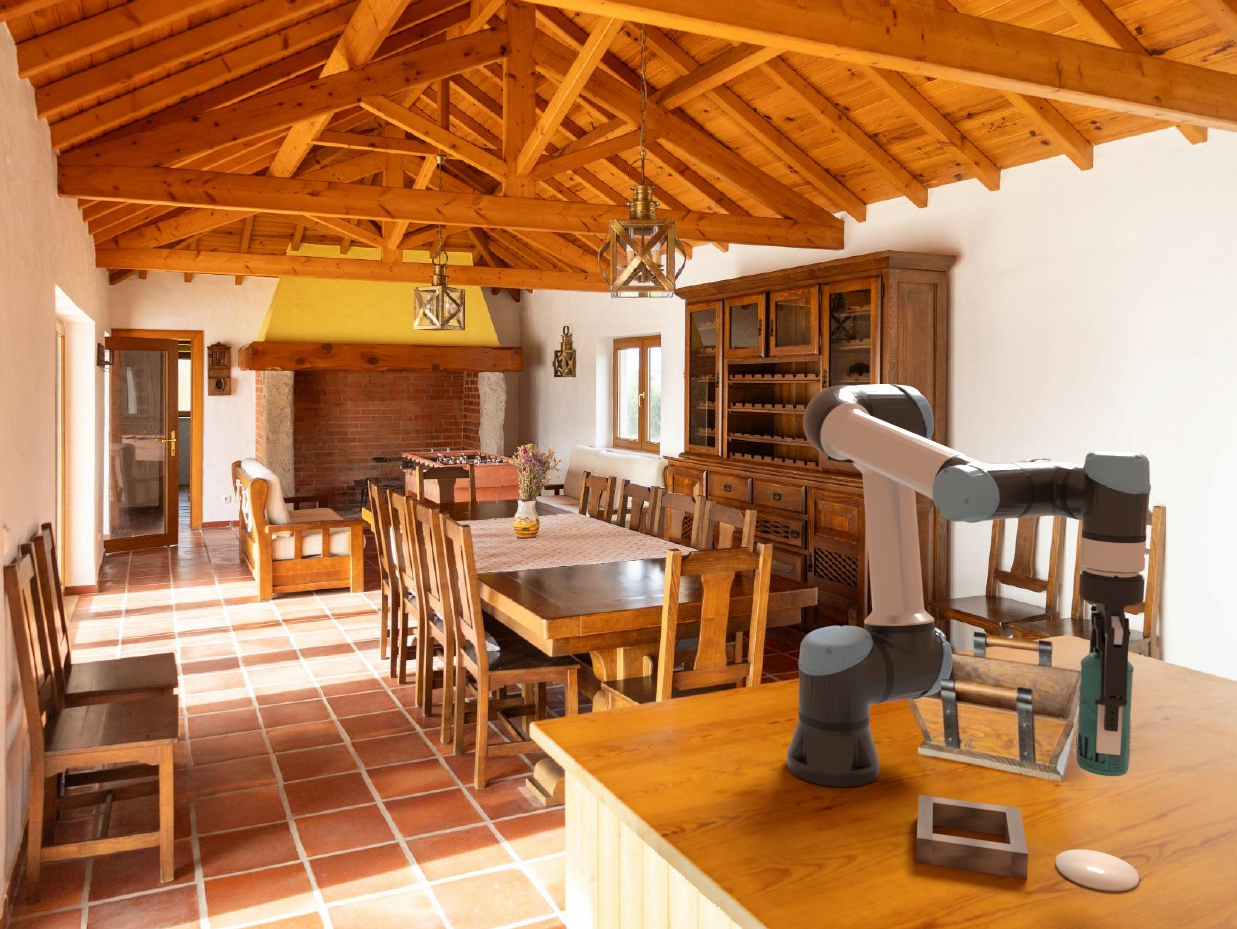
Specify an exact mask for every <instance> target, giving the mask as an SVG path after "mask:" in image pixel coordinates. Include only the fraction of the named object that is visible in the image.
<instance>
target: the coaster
mask: <svg viewBox="0 0 1237 929" xmlns="http://www.w3.org/2000/svg"><path fill="white" fill-rule="evenodd" d="M1055 868H1056V870H1057V871H1058V872H1059V873H1060V875H1062V876H1063V877H1065V878H1067V879H1068V880H1070V881H1071V882H1073V883H1075V884H1078V885H1080V886H1082V887H1086V888H1090V889H1093V890H1098V891H1103V892H1113V893H1114V892H1117V893H1118V892H1126V891H1130V890H1133V889H1135V888H1136V887H1137V886H1138V884H1139V880H1140V876H1139V873H1138V871H1137V869H1136V868H1135V867H1133V865H1131V864H1129V863H1128V862H1126V860H1123V859H1121V858H1119V857H1117V856H1115V855H1114V856H1113V855H1111V854H1108V853H1107V852H1106V853H1105V852H1100V851H1097V850H1092V849H1091V850H1090V849H1069V850H1065V851H1062V852H1060V853H1059V854H1058V855H1057V856H1056V857H1055Z"/></svg>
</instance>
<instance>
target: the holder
mask: <svg viewBox="0 0 1237 929" xmlns="http://www.w3.org/2000/svg"><path fill="white" fill-rule="evenodd" d="M917 801H918V804H917V806H918V808H917V824H916V825H917V826H916V854H915V862H916V863H918V864H924V865H925V864H926V865H931V866H937V867H945V868H952V869H959V870H965V871H970V872H971V871H972V872H979V873H985V874H989V875H990V874H991V875H998V876H1004V877H1011V878H1015V879H1016V878H1019V879H1022V880H1023V879H1024V880H1027V879H1028V865H1029V851H1028V850H1029V849H1028V846H1027V840H1026V834H1025V829H1024V824H1023V819H1022V814H1021V809H1020V807H1013V806H1005V805H998V804H990V803H982V802H978V801H977V802H975V801H969V800H968V801H967V800H961V799H954V798H953V799H952V798H944V797H938V796H931V795H930V796H929V795H922V794H918V800H917ZM933 826H935V827H936V826H937V827H942V828H949V829H957V830H963V831H971V832H979V833H984V834H992V835H1000V836H1004V838H1005V839H1004V840H1005V843H1003V842H998V841H991V840H990V841H989V840H982V839H976V838H969V837H962V836H954V835H946V834H939V833H933Z"/></svg>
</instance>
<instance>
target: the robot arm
mask: <svg viewBox="0 0 1237 929" xmlns="http://www.w3.org/2000/svg"><path fill="white" fill-rule="evenodd" d="M934 419H935V418H934V413H933V411H932V408H931V406H930V404H929V401H928V400H927V398H926V397H925V395H923V394H921V393H920V390H918V389H916V388H914V387H912V386H909V385H904V384H903V385H901V384H894V383H889V384H888V383H887V384H857V385H854V384H853V385H852V384H851V385H849V384H839V385H834V386H833V385H832V386H830V387H827V388H825V389H823V390H821V391H819V392H818V393H817V394H815V395H814V397H813V398H811V400H810V401H809V402H808V404H807V406H806V408H805V410H804V414H803V420H802V424H803V430H804V431H803V432H804V434H805V437H806V439H807V440H808V442H809V443H810V444H811V446H812V447H814V448H815V449H816V450H818V452H820V453H823V454H824V455H825V456H829V457H830V458H832V459H834V460H838V461H845V460H851V461H852V465H853V467H854V468H856V469H857V470H858V471H860V473H861V474H862V485H863V486H862V487H863V499H864V501H863V502H864V513H865V514H864V516H865V527H866V538H867V540H866V541H867V542H866V543H867V552H868V567H869V568H868V569H869V578H870V580H869V581H870V592H871V606H872V611H871V612H870V614H869V615H868V616H867V617H866V618H865V619H864V628H863V627H860V626H856V625H849V624H848V625H847V624H845V625H841V626H840V625H830V626H825V627H820V628H817V629H814V630H812V631H811V632H809V633H808V634H805V636H804V637H803V638H802V641H801V642H800V646H799V647H800V648H799V658H798V661H797V664H798V669H799V670H798V673H799V674H798V676H799V677H798V715H797V716H798V718H797V719H798V721H797V724H796V727H795V730H794V733H793V734H792V735H793V736H792V737H791V741H790V742H789V745H788V749H787V754H786V756H787V757H786V768H787V769H788V771H789V772H790V773H791V774H792V775H794V776H795V777H797V778H799V779H801V780H802V781H803V780H804V781H806V782H808V783H812V784H815V785H820V786H825V787H834V788H835V787H836V788H851V787H858V786H864V785H868V784H870V783H871V782H874V781H875V780H876V779H878V777H879V775H880V757H879V755H878V751H877V747H876V745H875V741H874V738H873V735H872V731H871V726H870V716H871V715H870V713H871V712H870V711H871V706H873V705H878V704H883V703H891V702H898V701H903V700H911V699H912V700H918V699H921V698H924V697H926V696H930V695H934V694H936V693H938V692H939V691H941V690H942V689H941V681H942V679H948V680H949V679H950V677H951V673H952V668H953V653H952V652H953V651H952V647H951V644H950V642H949V641H947V636H946V635H945V633H944V632H943V631H942V630H941V629H939V628H937V627H936V626H935V618H934V617H933V616H932V615H931V614H930V613H928V612H927V611H926V609H925V604H924V601H925V600H924V590H923V579H922V578H923V577H922V566H921V553H920V550H921V549H920V540H919V538H920V537H919V526H918V525H919V524H918V515H917V514H918V513H917V501H916V500H917V499H916V492H917V493H919V494H921V495H923V496H925V497H927V498H929V499H932V500H933V505H934V506H935V508H936V509H937V510H938V511H939V513H940V515H941V516H942V517H943V518H944V519H946V520H947V521H952V522H955V523H956V522H965V523H970V524H973V523H979V522H986V521H997V520H998V521H999V520H1006V519H1022V518H1023V519H1024V518H1037V517H1047V516H1050V517H1061V518H1066V519H1074V520H1079V521H1081V535H1080V553H1079V554H1080V555H1079V559H1080V560H1079V565H1080V566H1081V567H1082V568H1083V569H1082V570H1081V571H1079V581H1078V583H1079V585H1078V586H1079V587H1078V594H1079V597H1080V598H1081V599H1082V600H1084V601H1085V602H1089V603H1092V604H1091V606H1090V611H1091V612H1090V622H1091V624H1090V638H1089V639H1090V640H1091V636H1092V631H1093V630H1094V629H1095V630H1096V648H1095V647H1092V646H1091V645H1090V644H1089V652H1088V653H1089V654H1090V653H1093V652H1100V653H1101V698H1100V700H1097V699H1094V702H1095V704H1098V719H1097V739H1096V752H1097V753H1104V754H1113V755H1120V749H1121V730H1122V710H1123V706H1126V705H1127V671H1128V661H1129V644H1130V638H1131V637H1130V636H1131V633H1132V632H1131V631H1130V619H1129V618H1128V617H1126V614H1125V611H1124V610H1125V608H1126V607H1129V606H1131V607H1135V606H1138V605H1141V604H1142V603H1143V602H1144V596H1145V577H1144V575H1143V574H1142V572H1144V571H1145V570H1146V557H1145V555H1150V554H1151V553H1152V552H1151V551H1152V549H1151V547H1149V546H1147V525H1148V524H1147V523H1148V516H1149V515H1148V513H1149V504H1150V495H1151V493H1150V492H1151V491H1152V490H1151V489H1152V485H1151V482H1150V481H1151V476H1150V475H1151V474H1150V473H1151V470H1150V469H1151V468H1150V460H1149V459H1148V457H1147V456H1146V455H1144V454H1143V453H1139V452H1133V451H1117V450H1097V451H1095V450H1093V451H1089V452H1088V453H1087V454H1086V456H1085V459H1084V463H1083V464H1082V463H1074V462H1067V461H1066V462H1065V461H1060V460H1052V459H1051V458H1027V459H1026V458H1025V459H1022V460H1020V461H1019V462H1005V463H1004V462H1003V463H1002V462H1001V463H988V462H984V461H981V460H979V459H976V458H973V457H971V456H969V455H967V454H964V453H962V452H959V451H957V450H954V449H952V448H950V447H947V446H945V445H942V444H940V443H937V442H935V441H934V440H932V438H931V437H932V436H933V435H934V429H935V420H934ZM1090 640H1089V641H1090ZM1102 640H1103V641H1104V642H1105V644H1103V643H1102ZM1089 654H1088V655H1089Z"/></svg>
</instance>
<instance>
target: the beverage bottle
mask: <svg viewBox="0 0 1237 929" xmlns="http://www.w3.org/2000/svg"><path fill="white" fill-rule="evenodd" d="M1090 636H1091V635H1090ZM1102 643H1103V644H1105V642H1104V641H1103V640H1102ZM1090 645H1091V646H1092V647H1095V648H1096V630H1095V629H1094V630H1093V631H1092V636H1091V640H1089V646H1090ZM1080 666H1081V667H1080V678H1079V679H1080V682H1079V685H1078V692H1077V693H1078V696H1079V697H1078V715H1077V721H1076V724H1077V728H1076V730H1077V734H1076V736H1075V737H1076V739H1075V740H1076V741H1075V747H1076V750H1075V760H1076V763H1077V766H1078V767H1079V768H1080V769H1082V770H1084V771H1086V772H1088V773H1091V774H1095V775H1098V776H1104V777H1121V776H1124V775H1126V774H1127V773H1128V771H1129V768H1130V767H1129V766H1130V758H1131V749H1130V747H1131V744H1132V742H1131V738H1132V737H1131V736H1132V735H1131V731H1132V727H1131V712H1132V711H1131V709H1132V697H1133V696H1132V695H1133V693H1132V692H1133V676H1134V675H1133V674H1134V669H1135V668H1134V666H1133V665H1132V663H1131V662H1130V661H1129V660H1128V671H1127V705H1126V706H1123V710H1122V730H1121V749H1120V755H1113V754H1104V753H1097V752H1096V739H1097V719H1098V704H1095V702H1094V699H1097V700H1100V698H1101V653H1100V652H1093V653H1090V654H1087V655H1086V656H1084V657H1083V658H1082V659H1081V660H1080Z"/></svg>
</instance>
